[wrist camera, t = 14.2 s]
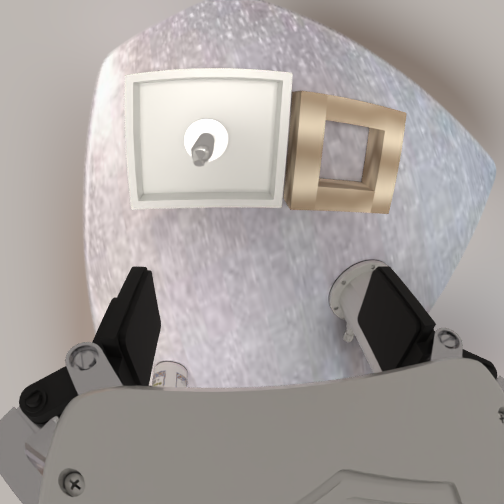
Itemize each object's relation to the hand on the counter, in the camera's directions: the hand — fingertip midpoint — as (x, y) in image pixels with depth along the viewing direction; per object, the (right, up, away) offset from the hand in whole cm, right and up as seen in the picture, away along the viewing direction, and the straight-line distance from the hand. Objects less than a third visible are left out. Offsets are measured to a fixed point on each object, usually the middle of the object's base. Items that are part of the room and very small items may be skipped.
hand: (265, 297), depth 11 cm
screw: (-6, +15, +19) cm, 25 cm away
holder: (+11, +15, +22) cm, 29 cm away
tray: (-6, +16, +20) cm, 26 cm away
